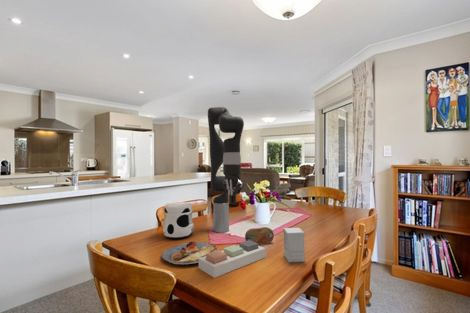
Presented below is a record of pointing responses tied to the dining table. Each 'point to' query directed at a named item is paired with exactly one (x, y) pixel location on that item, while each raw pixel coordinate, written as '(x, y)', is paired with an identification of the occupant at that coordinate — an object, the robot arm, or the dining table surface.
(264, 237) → the brown rounded lump
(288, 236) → the supplement box
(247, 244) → the charcoal key
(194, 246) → the food plate
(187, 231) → the milk container
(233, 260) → the key board
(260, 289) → the dining table surface
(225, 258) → the terracotta key
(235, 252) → the sage key
